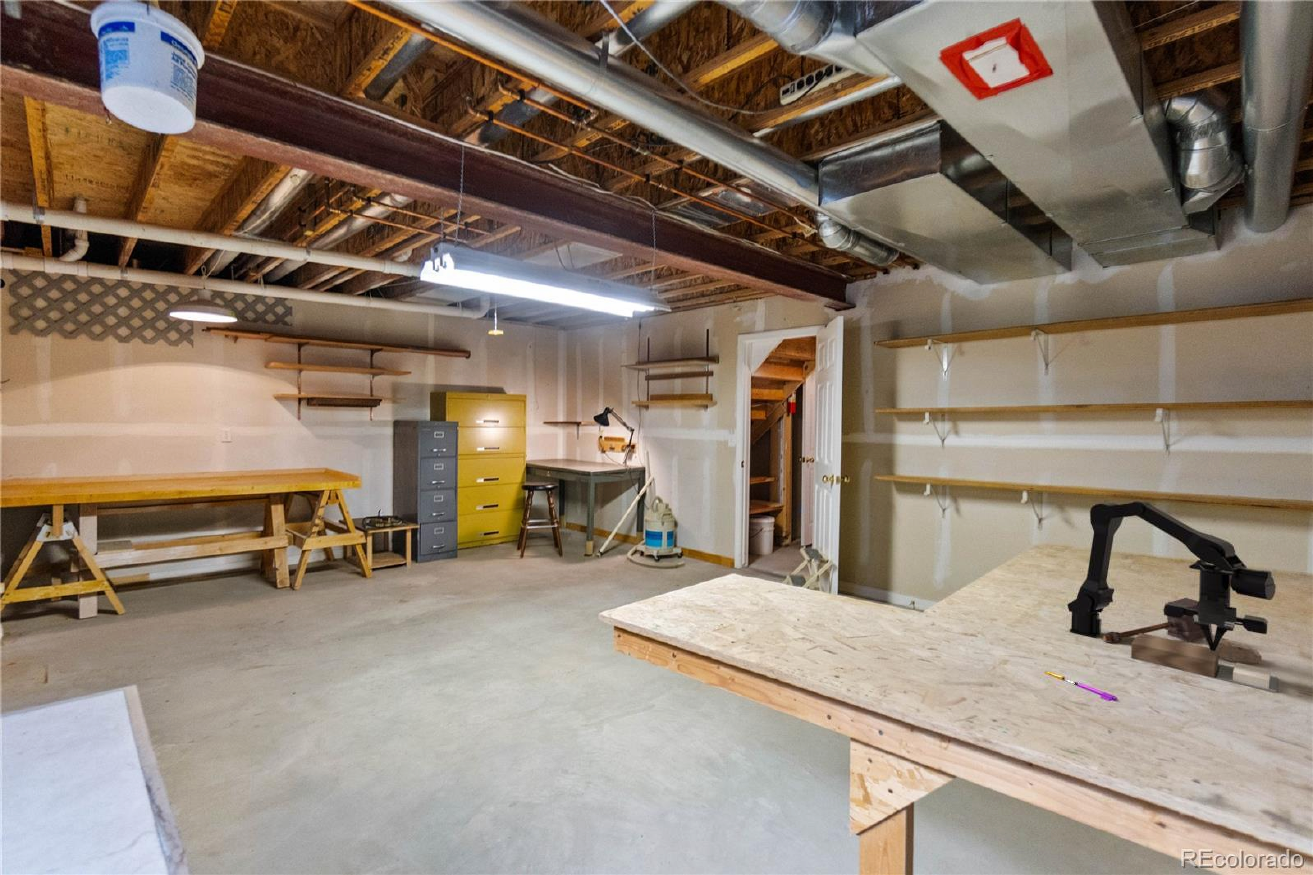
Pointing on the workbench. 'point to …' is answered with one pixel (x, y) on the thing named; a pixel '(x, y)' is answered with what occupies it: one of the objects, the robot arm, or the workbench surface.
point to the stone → (1237, 651)
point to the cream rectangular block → (1252, 675)
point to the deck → (1175, 654)
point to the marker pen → (1087, 688)
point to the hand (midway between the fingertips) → (1212, 650)
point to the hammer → (1168, 626)
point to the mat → (1227, 675)
